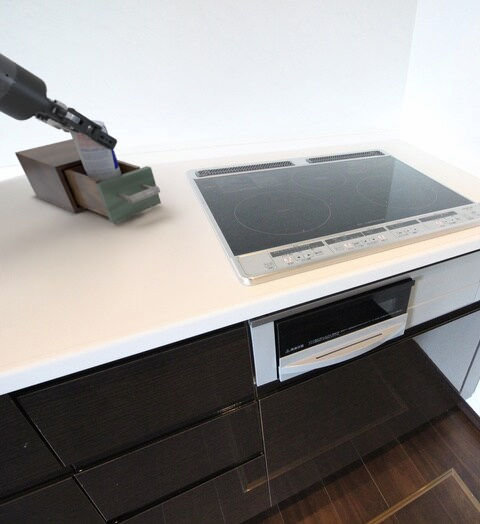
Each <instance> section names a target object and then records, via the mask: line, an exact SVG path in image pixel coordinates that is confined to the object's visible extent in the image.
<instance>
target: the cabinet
mask: <svg viewBox="0 0 480 524" xmlns="http://www.w3.org/2000/svg"><path fill="white" fill-rule="evenodd" d="M114 153H115V156H116V159H117V155H116V152H115V151H114ZM14 154H15V156H16V158H17V160H18V162H19V164H20V166H21V169H22V170H23V172H24V174H25V176H26V178H27V181H28V182H29V184H30V186H31V188H32V190H33V192H34V194H35V196H36V197H37V198H39V199H41V200H43V201H44V202H48V203H50V204H53V205H55V206H58V207H59V208H62V209H64V210H66V211H69V212H71V213H74V214H77V213H79V212H82V211H84V210H87V208H85V207H83V206H80V205H78V204H77V202H76V200H75V198H74V196H73V193H72V191H71V189H70V186H69V184H68V182H67V179H66V177H65V175H64V172H63V169H67V168H70V167H74V166H77V165H80V164H83V163H82V161H81V158H80V156H79V153H78V151H77V148H76V146H75V143H74V141H73V138H71V139H66V140H62V141H58V142H53V143H50V144H49V143H48V144H46V145H41V146H37V147H33V148H28V149H23V150H19V151H15V152H14ZM117 160H118V159H117Z"/></svg>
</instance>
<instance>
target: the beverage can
mask: <svg viewBox="0 0 480 524" xmlns="http://www.w3.org/2000/svg"><path fill="white" fill-rule="evenodd" d="M90 120H91V121H93V122H94V123H96V124H98V125H100V126H101V127H102V131H103V132H105V133H107V134H108V135H109V131H108V129H107V127H106V126H105V122H104V121H101V120H96V119H95V120H92V119H90ZM70 128H71V129H72V128H73V127H71V126H70ZM90 128H91V127H90V126H89V127H88V129H87V132H88V131H89V130H90ZM70 135H71V137H72V138H71V139H73V141H74V143H75V146H76V148H77V151H78V153H79V156H80V158H81V161H82V163H83V166H84V169H85V171H86V174H87V176H89V177H91V178H94V179H97V180H99V181H100V182H102V181H105V180H108V179H111V178H114V177H117V176H119V175H122V174H121V171H120V168H119V165H118V162H117V160H118V159H116V158H117V155H116V152H115V149H113V150H110V149H108V148H106V147H104V146H102V145H100V144H99V143H97V142H95V141H93V140H89V139H88V138H87V137H85V136H83V135H81V134H72V133H70ZM114 152H115V153H114ZM115 155H116V156H115Z"/></svg>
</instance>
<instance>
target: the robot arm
mask: <svg viewBox="0 0 480 524" xmlns="http://www.w3.org/2000/svg"><path fill="white" fill-rule="evenodd" d="M47 93H48V85H47V84H46V82H45V81H44V80H43V79H41V77H39V76H38V75H35V74H34V73H32V72H31V71H29V70H28V69H26V68H25V67H23V66H21V65H20V64H19V63H17V62H15V61H13V60H12V59H10V58H9V57H7V56H6V55H4V54H3V53H1V52H0V112H1V113H3V114H5V115H6V116H8V117H10V118H12V119H14V120H16V121H22V122H23V121H27V120H30V119H31V118H33V117H34V119H36V120H37V121H39V122H41V123H44V124H45V125H46V124H47V125H49V126H50V127H52V128H54V129H56V130H62V131H63V132H64V133H67V134H69V133H70V134H71V133H72V134H81V135H83V136H85V137H87V138H88V139H89V140H93V141H95V142H97V143H99V144H100V145H102V146H104V147H106V148H108V149H110V150H115V147H116V146H117V144H118V139H117V138H114V137H113V136H112V135H110V134H109V133H108V134H107V133H105V132H103V131H102V127H101V126H100V125H98V124H96V123H94V122H93V121H91V120H92V119H89V117H87V116H85V115H83V114H82V113H80V112H79V111H78V110H76V109H75V108H73V107H71V106H67V105H66V104H65V103H63V102H62V101H60V100H58V99H55V98H54V100H53V99H51V98H50V97H48V94H47ZM70 126H71V127H73V128H72V129H71V128H70ZM89 126H90V127H91V128H90V130H89V131H88V132H87V129H88V127H89Z"/></svg>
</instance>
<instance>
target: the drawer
mask: <svg viewBox="0 0 480 524" xmlns="http://www.w3.org/2000/svg"><path fill="white" fill-rule="evenodd" d="M117 162H118V165H119V168H120V171H121V174H122V175H119V176H117V177H114V178H111V179H108V180H105V181H102V182H100V181H99V180H97V179H94V178H91V177H89V176H87V174H86V171H85V169H84V166H83V164H80V165H77V166H74V167H70V168H67V169H63V172H64V175H65V177H66V179H67V182H68V184H69V186H70V189H71V191H72V193H73V196H74V198H75V200H76V202H77V204H78V205H80V206H83V207H85V208H87V209H88V210H90V211H92V212H95V213H97V214H100V215H103V216H104V217H107V218H108V219H109V222H110V223H111V224H117V223H120V222H121V221H124V220H126V219H128V218H131V217H132V216H133V217H134V216H136V215H137V214H140V213H142V212H144V211H147V210H149V209H151V208H154V207H156V206H158V205H160V204H162V202H161V197H160V193H161V189H160V187H159V186H158V185H157V183H156V180H155V177H154V173H153V169H152V167H151V166H149V165H146V166H143V167H140V166H138V165H134V164H132V163H129V162H126V161H122V160H119V159H117ZM87 209H86V210H87Z"/></svg>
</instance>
